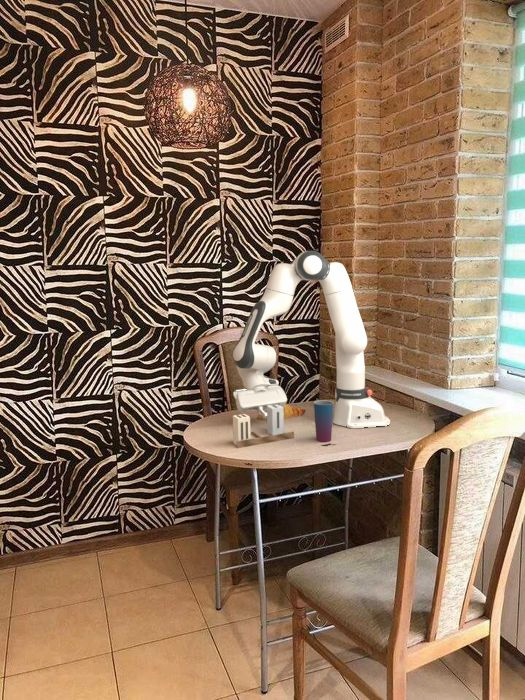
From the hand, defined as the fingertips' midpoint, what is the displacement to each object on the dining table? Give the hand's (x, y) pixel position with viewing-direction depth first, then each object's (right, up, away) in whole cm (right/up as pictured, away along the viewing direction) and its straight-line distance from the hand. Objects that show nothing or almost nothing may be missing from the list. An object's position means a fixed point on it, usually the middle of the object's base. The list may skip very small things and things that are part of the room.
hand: (268, 417), depth 210 cm
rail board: (-3, -8, -10) cm, 13 cm away
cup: (+20, -8, -13) cm, 25 cm away
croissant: (+6, -3, +19) cm, 20 cm away
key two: (-9, -7, -16) cm, 20 cm away
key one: (+3, -5, -4) cm, 7 cm away
